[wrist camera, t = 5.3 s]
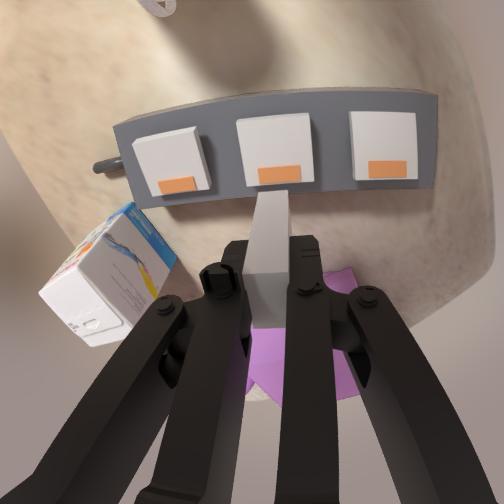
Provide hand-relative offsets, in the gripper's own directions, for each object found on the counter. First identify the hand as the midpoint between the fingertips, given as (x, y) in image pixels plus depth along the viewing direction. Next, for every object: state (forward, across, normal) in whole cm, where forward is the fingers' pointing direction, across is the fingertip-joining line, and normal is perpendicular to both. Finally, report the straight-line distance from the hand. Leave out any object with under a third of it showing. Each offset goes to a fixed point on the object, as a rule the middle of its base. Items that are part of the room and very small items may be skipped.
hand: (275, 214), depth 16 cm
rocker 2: (+7, 0, +2) cm, 7 cm away
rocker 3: (+7, +8, +2) cm, 11 cm away
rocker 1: (+7, -8, +2) cm, 11 cm away
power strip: (+12, -3, +1) cm, 13 cm away
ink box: (+13, -18, -9) cm, 24 cm away
